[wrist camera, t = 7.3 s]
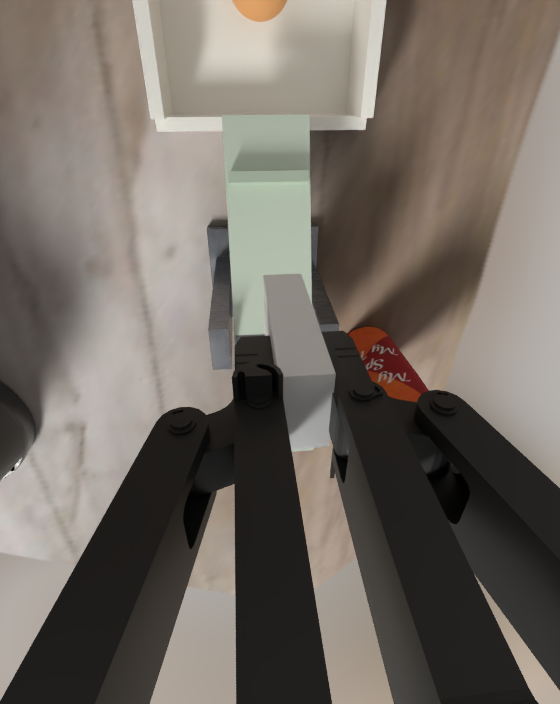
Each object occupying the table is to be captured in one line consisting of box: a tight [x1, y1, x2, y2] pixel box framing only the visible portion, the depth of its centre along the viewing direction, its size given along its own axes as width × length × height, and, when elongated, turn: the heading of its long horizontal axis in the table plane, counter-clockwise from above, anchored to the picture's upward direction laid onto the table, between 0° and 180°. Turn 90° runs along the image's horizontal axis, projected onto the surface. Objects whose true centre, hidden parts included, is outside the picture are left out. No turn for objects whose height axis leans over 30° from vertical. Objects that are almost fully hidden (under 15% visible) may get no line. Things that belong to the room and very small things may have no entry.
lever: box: [222, 115, 314, 451], centre depth 29 cm, size 5×21×8 cm, turn 0°
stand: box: [207, 224, 339, 370], centre depth 31 cm, size 9×8×12 cm
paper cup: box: [348, 327, 429, 402], centre depth 36 cm, size 8×8×14 cm
